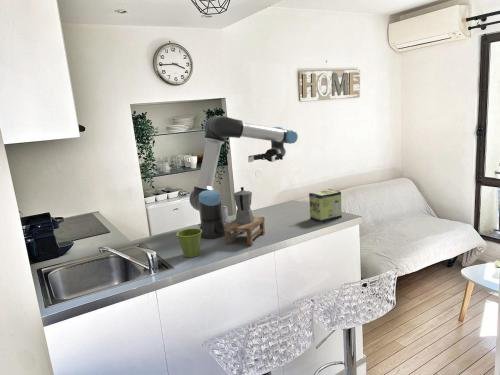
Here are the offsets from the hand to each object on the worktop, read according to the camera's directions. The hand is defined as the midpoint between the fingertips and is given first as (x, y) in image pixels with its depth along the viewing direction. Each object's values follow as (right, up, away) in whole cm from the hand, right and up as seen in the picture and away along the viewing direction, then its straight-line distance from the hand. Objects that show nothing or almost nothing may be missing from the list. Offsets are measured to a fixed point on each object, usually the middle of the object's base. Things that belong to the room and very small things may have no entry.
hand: (260, 159), depth 206 cm
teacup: (-23, -35, +28) cm, 51 cm away
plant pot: (-33, -47, -27) cm, 64 cm away
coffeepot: (-8, -33, -12) cm, 36 cm away
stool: (-8, -41, -10) cm, 43 cm away
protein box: (+39, -33, +15) cm, 53 cm away
